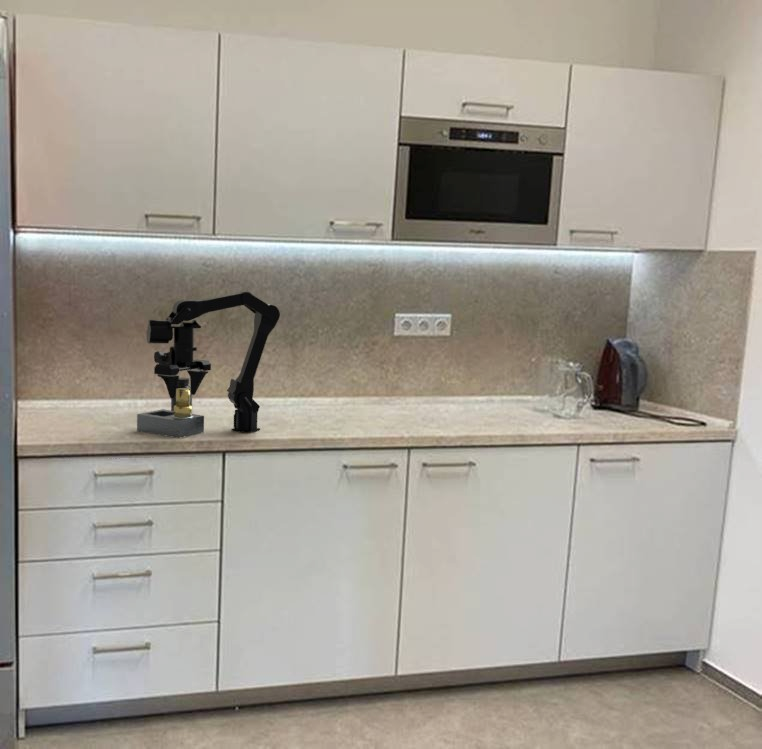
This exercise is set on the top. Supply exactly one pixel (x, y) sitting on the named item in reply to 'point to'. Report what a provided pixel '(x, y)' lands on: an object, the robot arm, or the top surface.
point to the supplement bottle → (181, 384)
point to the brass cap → (182, 403)
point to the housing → (169, 423)
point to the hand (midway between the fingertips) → (182, 396)
